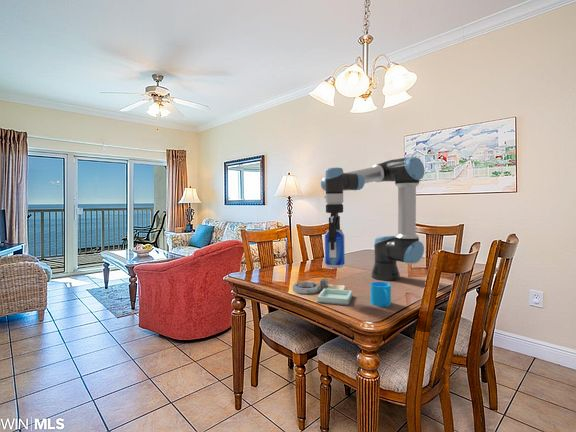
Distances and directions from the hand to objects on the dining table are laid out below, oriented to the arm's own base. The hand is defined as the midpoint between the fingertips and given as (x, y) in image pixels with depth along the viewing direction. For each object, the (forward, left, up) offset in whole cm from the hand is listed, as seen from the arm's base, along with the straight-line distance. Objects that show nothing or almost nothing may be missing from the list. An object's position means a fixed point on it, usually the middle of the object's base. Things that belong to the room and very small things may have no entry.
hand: (334, 255), depth 137 cm
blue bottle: (0, 0, -5) cm, 5 cm away
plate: (+2, -12, -20) cm, 23 cm away
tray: (0, 0, -19) cm, 19 cm away
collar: (+16, -10, -19) cm, 27 cm away
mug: (-20, +2, -20) cm, 28 cm away
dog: (+7, -12, -19) cm, 24 cm away
